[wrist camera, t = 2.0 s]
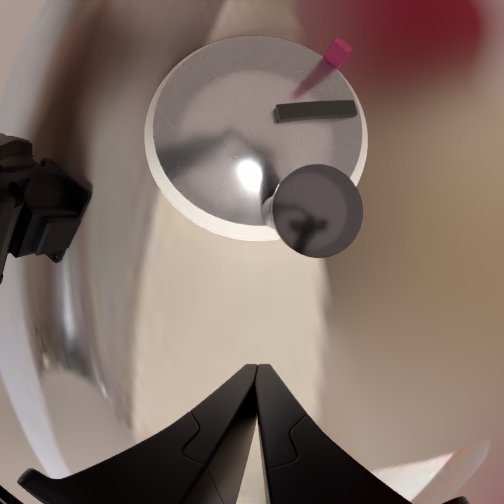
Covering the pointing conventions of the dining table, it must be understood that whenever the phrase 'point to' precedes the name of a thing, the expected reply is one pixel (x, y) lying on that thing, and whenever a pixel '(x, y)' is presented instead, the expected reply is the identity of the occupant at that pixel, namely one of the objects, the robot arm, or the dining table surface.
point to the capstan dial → (264, 140)
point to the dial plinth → (216, 225)
